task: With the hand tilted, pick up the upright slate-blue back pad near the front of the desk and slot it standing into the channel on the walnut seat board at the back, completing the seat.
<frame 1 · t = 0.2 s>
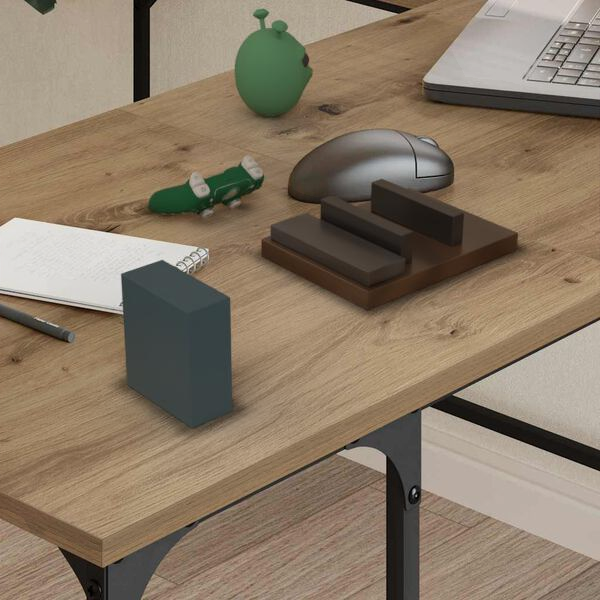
alien toy: (274, 115, 138), on the table
gaming controller: (211, 211, 117), on the table
seat board: (389, 253, 110), on the table
back pad: (178, 397, 90), on the table
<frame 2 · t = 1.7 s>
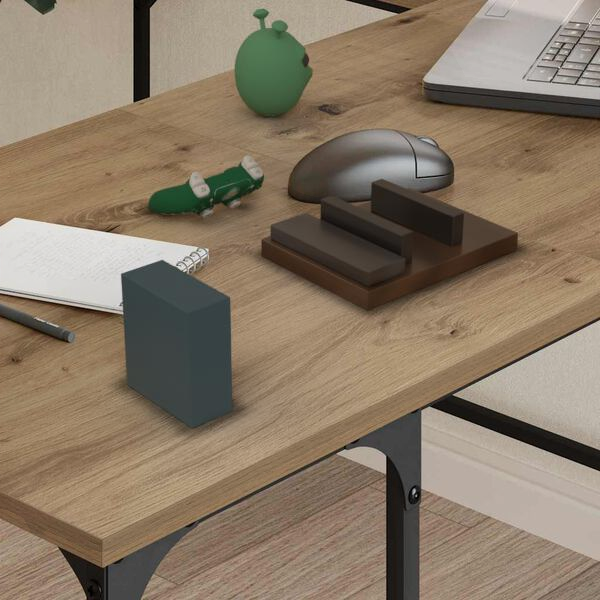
nothing on the table moved.
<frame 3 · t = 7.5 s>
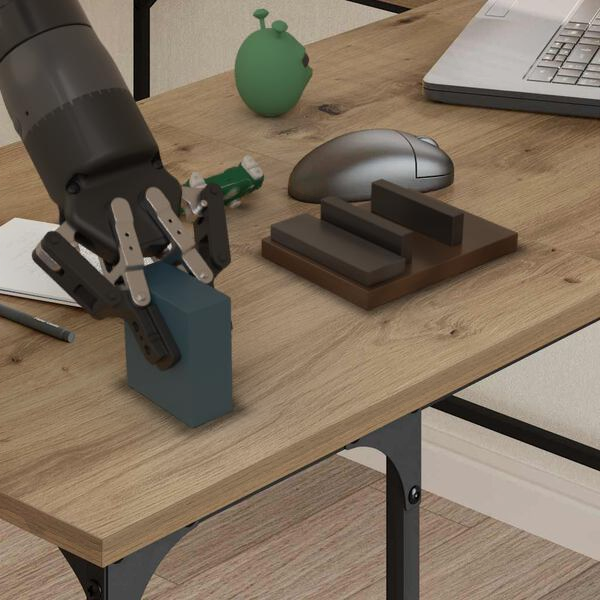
hand: (196, 354, 87), 4 cm above the table, tool tilted 45°, fingers closed on back pad, 3 cm apart
back pad: (179, 397, 90), on the table, touching gripper
everything else where it was.
when the fingers open (6 cm above the table, at t = 16.4 s): back pad stays where it is, resting on seat board.
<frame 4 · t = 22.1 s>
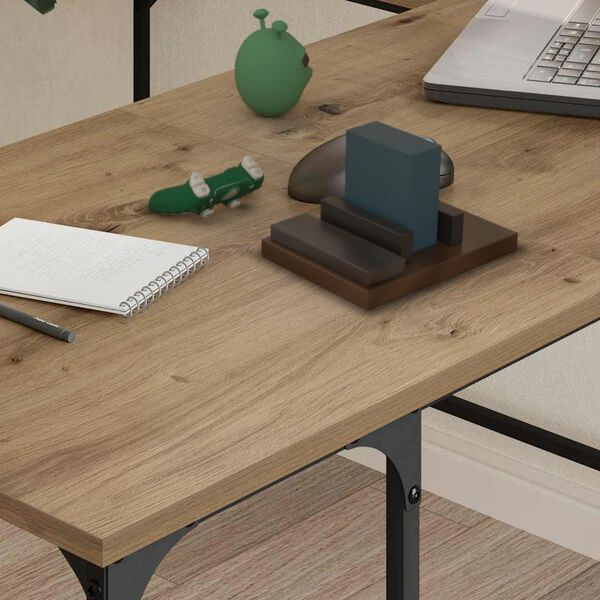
back pad: (389, 235, 109), point 1 cm above the table, touching seat board
everything else where it was.
at the end: back pad 0.1 cm off-centre on the seat board, point 1.5 cm above the seat board's base; back pad tilted 0°; the gripper is holding nothing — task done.
